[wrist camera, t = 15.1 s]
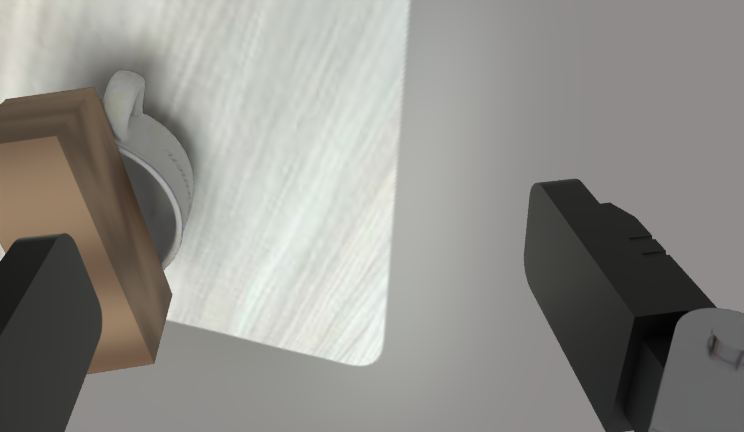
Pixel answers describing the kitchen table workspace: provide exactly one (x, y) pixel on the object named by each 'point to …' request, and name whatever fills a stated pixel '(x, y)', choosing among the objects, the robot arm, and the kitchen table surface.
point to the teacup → (150, 163)
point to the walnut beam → (84, 214)
